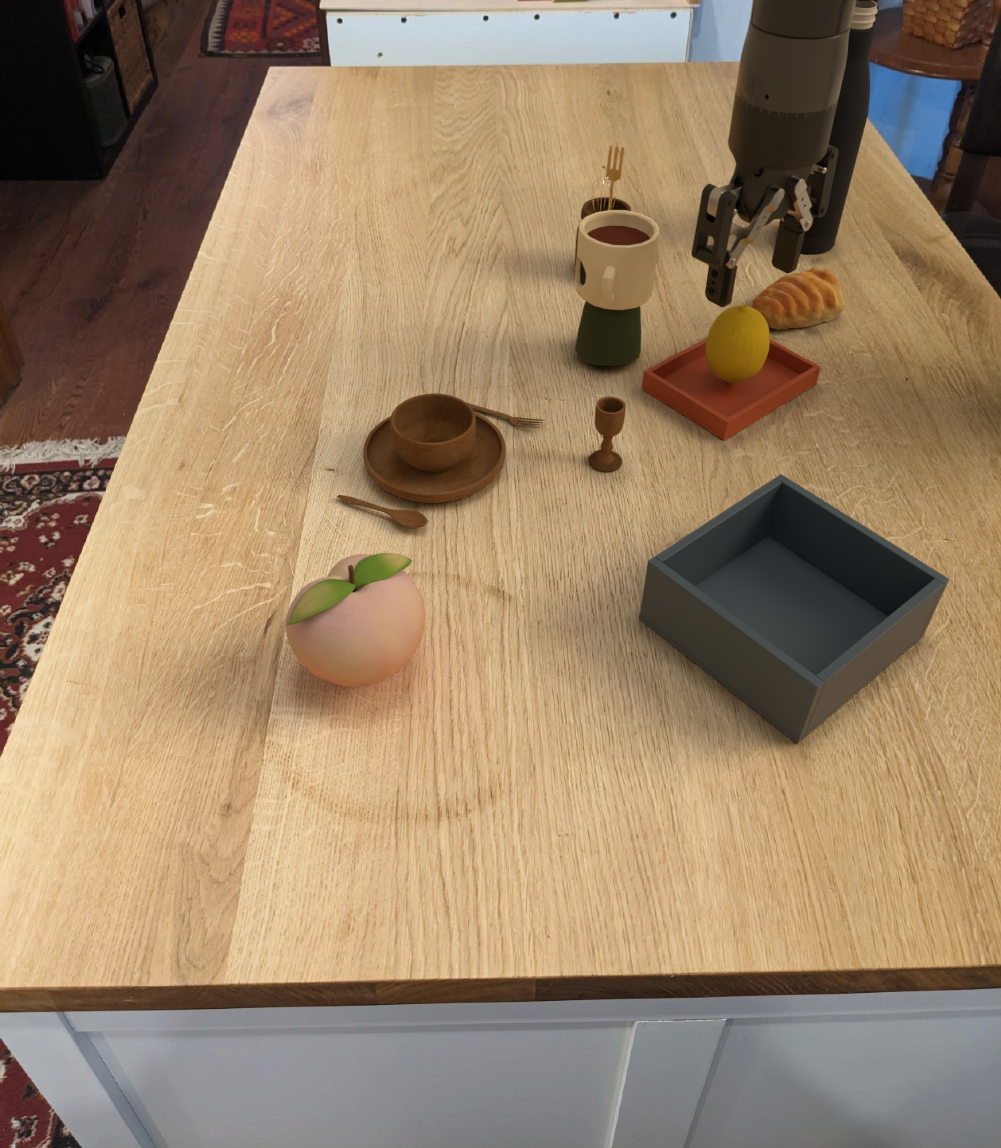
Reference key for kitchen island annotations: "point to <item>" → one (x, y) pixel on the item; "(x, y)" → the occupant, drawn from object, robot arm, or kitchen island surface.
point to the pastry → (801, 300)
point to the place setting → (455, 450)
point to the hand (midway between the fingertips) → (751, 285)
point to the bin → (789, 603)
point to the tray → (728, 388)
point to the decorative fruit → (358, 620)
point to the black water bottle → (846, 127)
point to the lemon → (737, 344)
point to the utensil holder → (605, 202)
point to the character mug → (614, 284)
